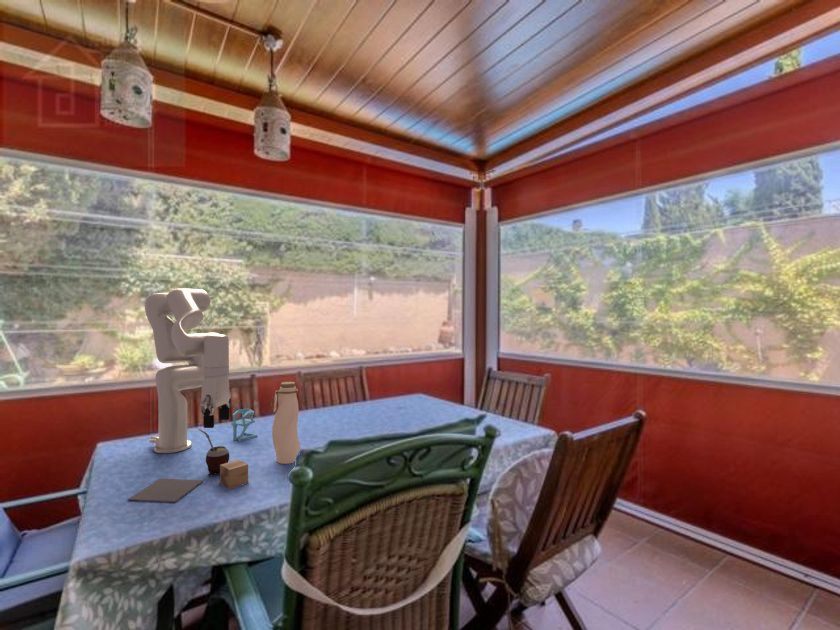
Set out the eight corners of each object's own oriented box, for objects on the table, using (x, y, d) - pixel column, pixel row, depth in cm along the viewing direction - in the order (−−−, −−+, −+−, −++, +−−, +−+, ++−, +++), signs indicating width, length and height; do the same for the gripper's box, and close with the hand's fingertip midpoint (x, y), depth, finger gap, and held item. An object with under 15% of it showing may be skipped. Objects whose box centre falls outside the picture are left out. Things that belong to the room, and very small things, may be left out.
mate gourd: (233, 471, 142) (233, 427, 142) (211, 479, 135) (211, 433, 135) (220, 466, 146) (220, 423, 146) (198, 474, 139) (198, 429, 139)
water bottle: (272, 467, 146) (273, 386, 145) (268, 458, 154) (269, 381, 153) (302, 462, 151) (303, 384, 150) (297, 454, 159) (298, 380, 158)
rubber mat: (127, 500, 120) (127, 499, 120) (160, 480, 134) (160, 478, 134) (175, 502, 120) (175, 501, 120) (203, 481, 134) (203, 480, 134)
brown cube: (219, 483, 133) (219, 464, 133) (238, 477, 138) (238, 459, 137) (229, 489, 129) (229, 469, 129) (248, 483, 134) (248, 464, 133)
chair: (228, 440, 173) (228, 411, 173) (242, 434, 181) (242, 406, 181) (243, 442, 171) (243, 413, 170) (257, 436, 179) (257, 408, 178)
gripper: (219, 368, 148) (219, 416, 149) (189, 376, 131) (190, 431, 131) (240, 368, 148) (240, 416, 148) (213, 376, 131) (214, 431, 131)
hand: (216, 423), depth 140 cm, fingers open, 9 cm apart
